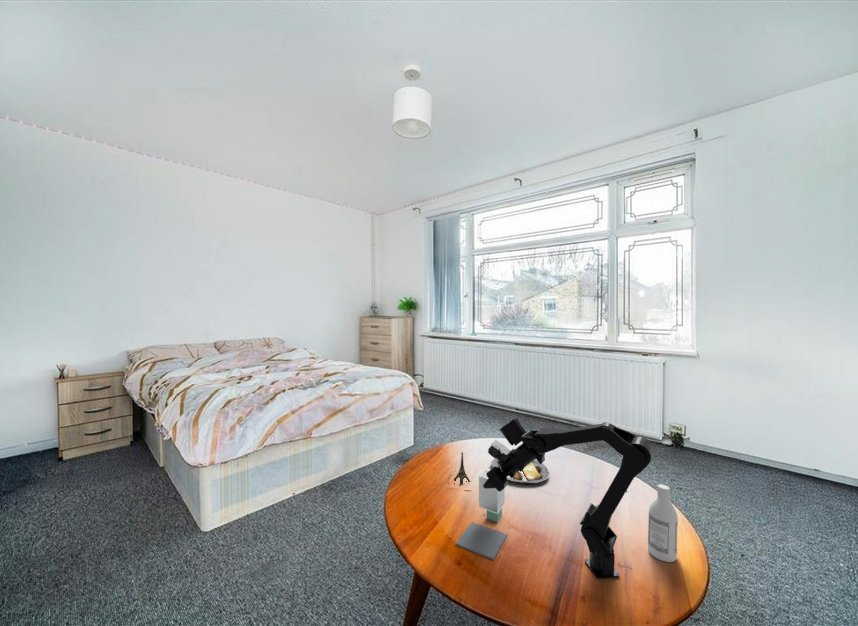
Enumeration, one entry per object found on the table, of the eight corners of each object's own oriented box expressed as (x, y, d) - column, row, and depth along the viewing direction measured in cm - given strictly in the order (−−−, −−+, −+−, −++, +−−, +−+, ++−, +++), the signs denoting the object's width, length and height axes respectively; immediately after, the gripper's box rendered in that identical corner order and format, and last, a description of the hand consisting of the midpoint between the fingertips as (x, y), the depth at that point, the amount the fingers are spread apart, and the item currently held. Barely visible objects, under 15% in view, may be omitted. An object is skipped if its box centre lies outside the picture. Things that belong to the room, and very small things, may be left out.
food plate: (488, 457, 164) (488, 450, 163) (538, 459, 163) (538, 452, 162) (496, 487, 139) (496, 478, 138) (555, 489, 138) (555, 480, 138)
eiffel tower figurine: (450, 472, 150) (451, 441, 150) (474, 474, 149) (474, 443, 148) (446, 490, 136) (446, 456, 135) (472, 493, 134) (472, 458, 134)
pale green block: (501, 516, 119) (501, 508, 118) (497, 522, 115) (497, 513, 115) (490, 512, 121) (490, 504, 121) (486, 518, 117) (486, 510, 117)
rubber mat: (507, 535, 108) (507, 534, 108) (493, 560, 98) (493, 558, 98) (471, 523, 114) (471, 521, 114) (455, 544, 104) (455, 543, 104)
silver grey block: (504, 503, 115) (504, 473, 115) (497, 512, 110) (497, 481, 110) (486, 497, 119) (486, 468, 118) (478, 506, 113) (478, 476, 113)
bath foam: (663, 545, 105) (665, 480, 104) (682, 562, 98) (684, 492, 97) (642, 546, 104) (644, 481, 104) (659, 564, 97) (661, 493, 97)
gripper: (513, 427, 120) (483, 451, 126) (493, 445, 104) (459, 472, 110) (535, 455, 116) (503, 478, 122) (518, 478, 100) (482, 504, 106)
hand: (487, 482), depth 115 cm, fingers closed on silver grey block, 6 cm apart
